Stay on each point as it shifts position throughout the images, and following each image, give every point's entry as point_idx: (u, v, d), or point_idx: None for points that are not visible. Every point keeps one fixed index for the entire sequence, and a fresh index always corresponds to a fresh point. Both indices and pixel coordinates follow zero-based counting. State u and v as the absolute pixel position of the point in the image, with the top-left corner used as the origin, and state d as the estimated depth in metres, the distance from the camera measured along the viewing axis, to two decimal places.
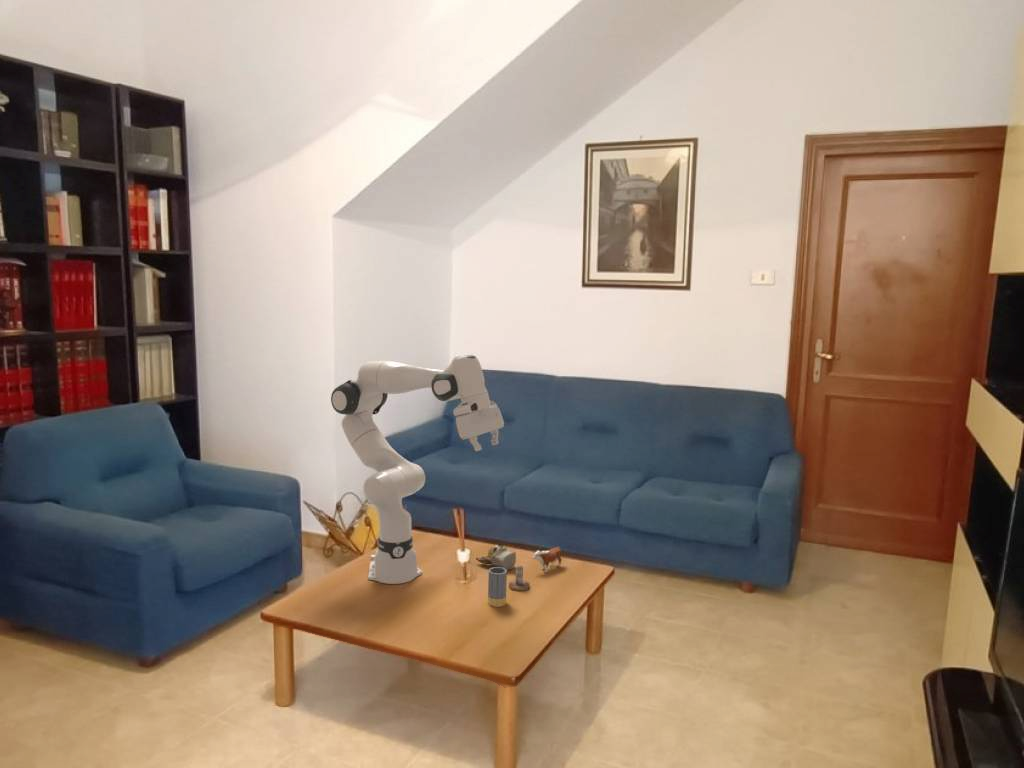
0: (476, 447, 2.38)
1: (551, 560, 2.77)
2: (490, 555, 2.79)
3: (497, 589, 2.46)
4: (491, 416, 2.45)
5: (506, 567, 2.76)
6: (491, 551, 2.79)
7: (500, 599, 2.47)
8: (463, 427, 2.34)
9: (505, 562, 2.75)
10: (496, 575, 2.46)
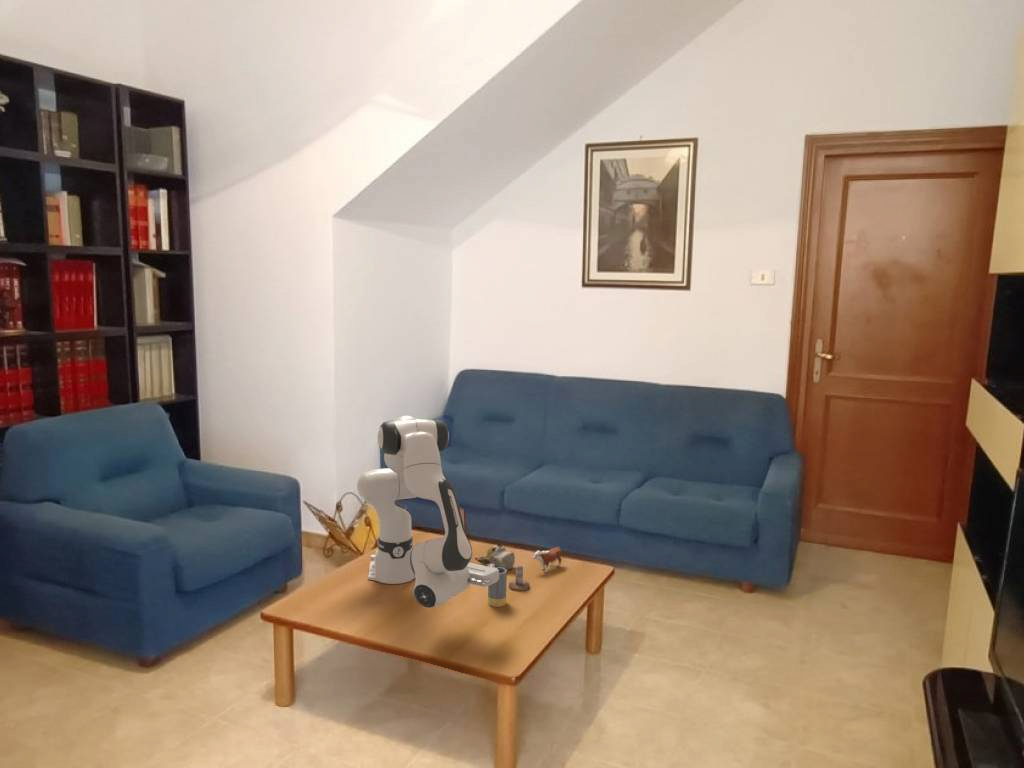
0: None
1: (551, 560, 2.77)
2: (489, 555, 2.79)
3: (497, 589, 2.46)
4: None
5: (504, 567, 2.76)
6: (490, 551, 2.79)
7: (500, 599, 2.47)
8: None
9: (504, 563, 2.75)
10: None
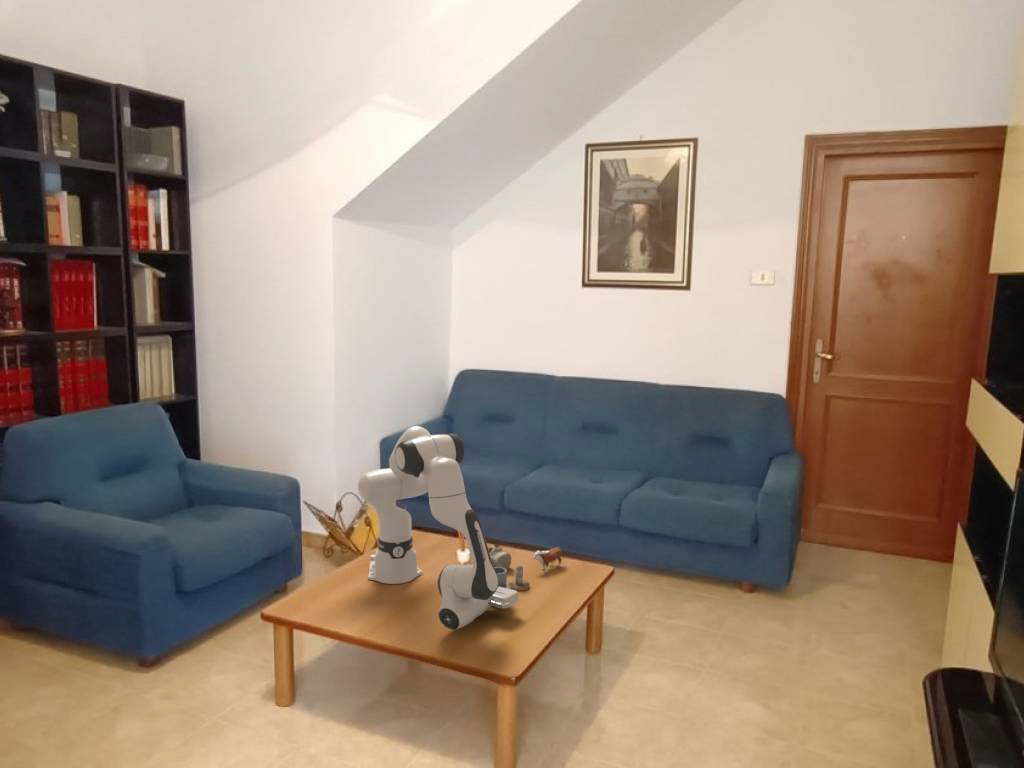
0: None
1: (551, 560, 2.77)
2: None
3: None
4: None
5: None
6: None
7: None
8: None
9: (499, 563, 2.75)
10: None
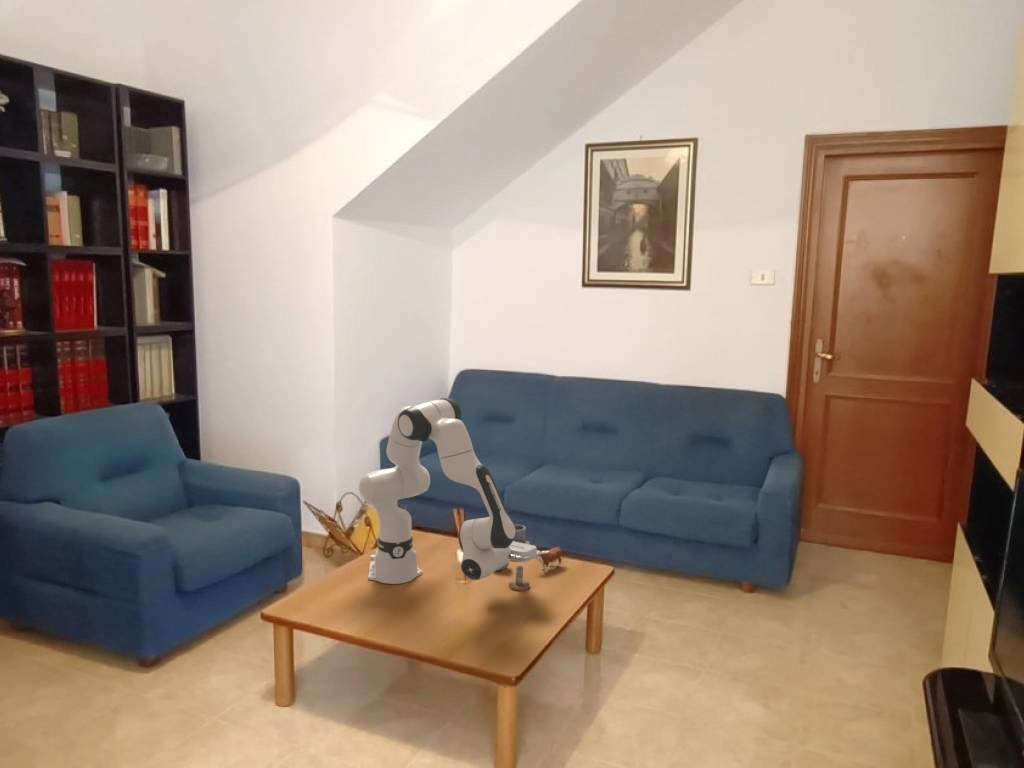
0: None
1: (551, 560, 2.77)
2: None
3: None
4: None
5: None
6: None
7: None
8: None
9: None
10: None
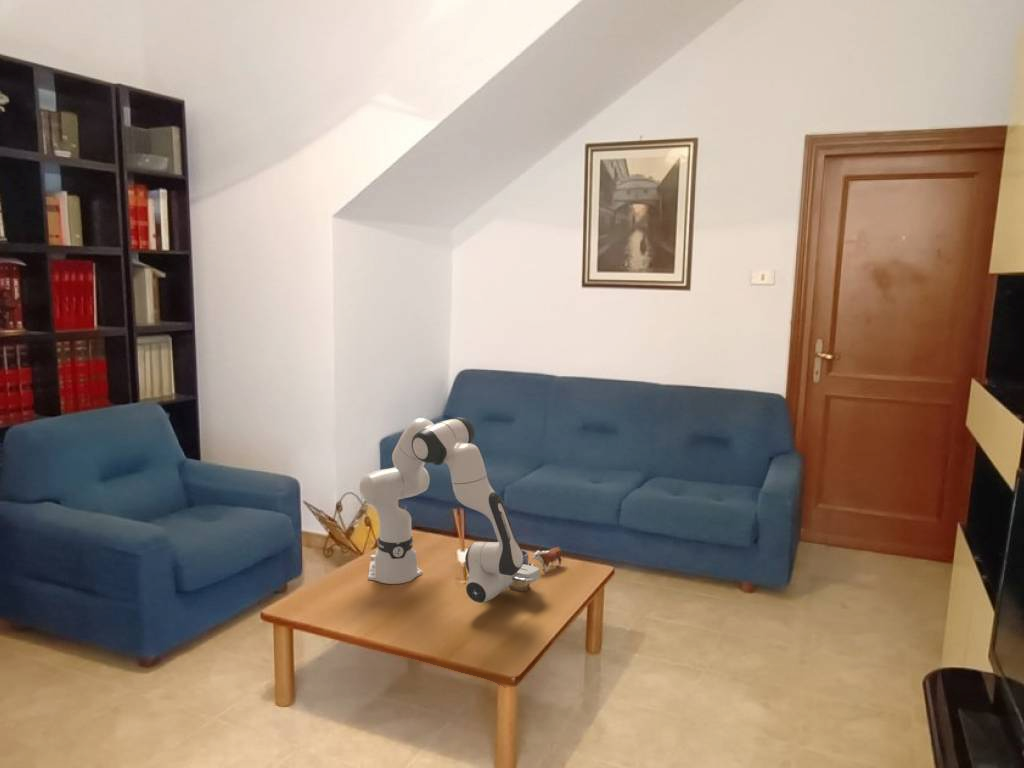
0: None
1: (551, 560, 2.77)
2: None
3: None
4: None
5: None
6: None
7: None
8: None
9: None
10: None
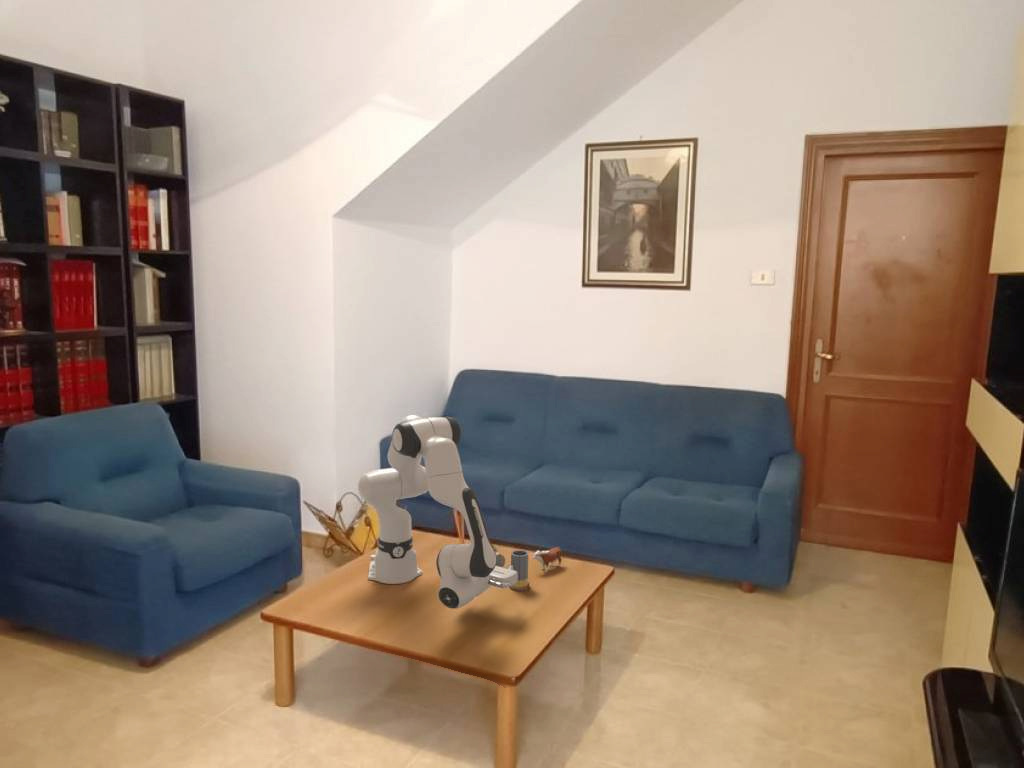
0: None
1: (551, 560, 2.77)
2: None
3: (519, 571, 2.59)
4: None
5: None
6: None
7: (522, 580, 2.60)
8: None
9: None
10: (518, 557, 2.58)
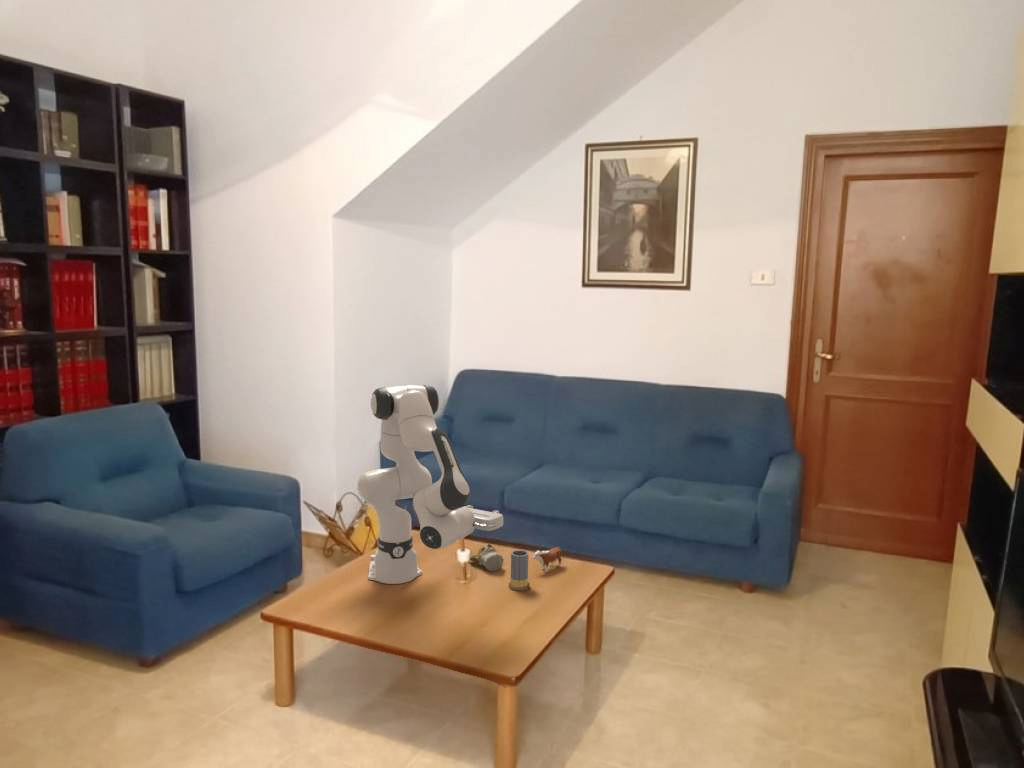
0: None
1: (551, 560, 2.77)
2: (478, 554, 2.79)
3: (519, 571, 2.59)
4: None
5: (489, 568, 2.74)
6: (480, 550, 2.80)
7: (522, 580, 2.60)
8: None
9: (488, 563, 2.74)
10: (518, 557, 2.58)
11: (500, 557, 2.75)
